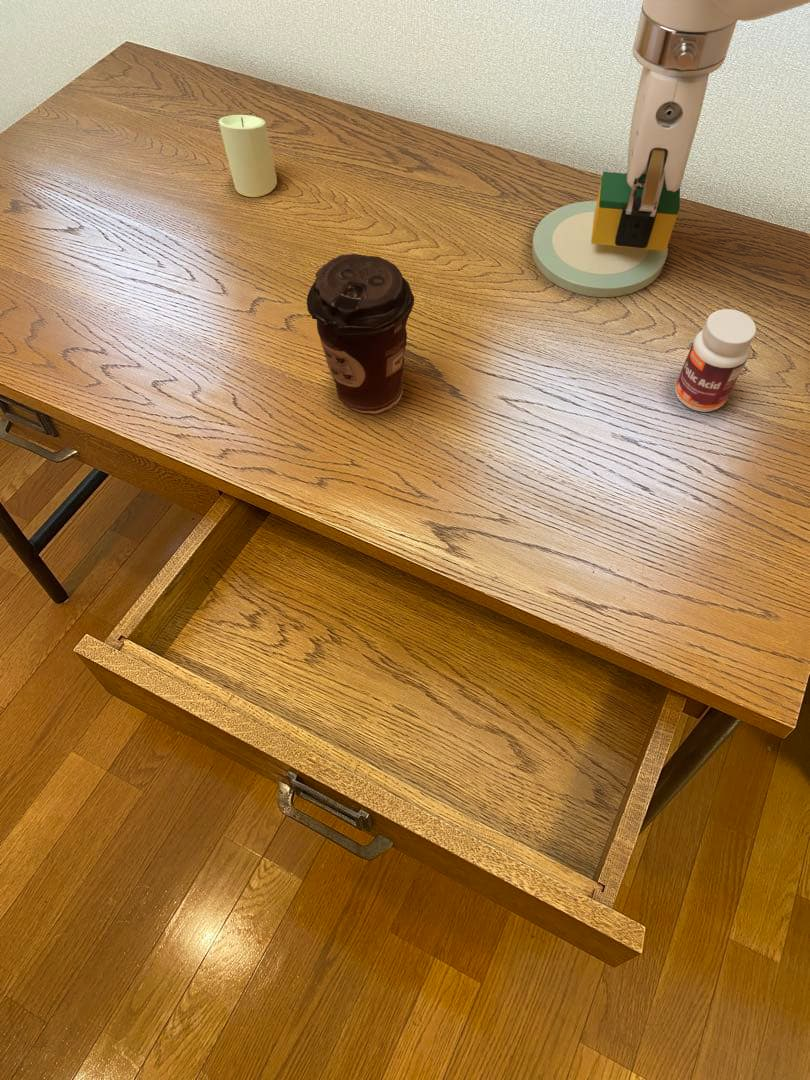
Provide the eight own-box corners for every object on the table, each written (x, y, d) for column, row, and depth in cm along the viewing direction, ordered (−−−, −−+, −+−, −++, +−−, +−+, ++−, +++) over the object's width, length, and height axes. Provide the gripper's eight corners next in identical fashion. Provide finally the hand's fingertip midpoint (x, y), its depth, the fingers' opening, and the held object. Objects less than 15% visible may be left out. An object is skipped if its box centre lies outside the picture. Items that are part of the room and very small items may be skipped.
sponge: (666, 222, 78) (680, 178, 73) (665, 251, 75) (679, 207, 71) (593, 215, 79) (603, 171, 74) (590, 244, 76) (600, 200, 72)
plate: (666, 216, 82) (669, 206, 81) (663, 304, 75) (667, 294, 74) (538, 204, 84) (540, 194, 83) (524, 289, 77) (526, 279, 76)
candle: (247, 168, 89) (231, 98, 82) (284, 176, 88) (271, 106, 81) (227, 192, 87) (208, 123, 80) (265, 201, 86) (250, 131, 79)
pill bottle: (663, 395, 69) (690, 327, 62) (691, 366, 71) (721, 297, 63) (709, 422, 67) (742, 354, 60) (736, 391, 69) (772, 323, 62)
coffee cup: (350, 439, 68) (334, 332, 56) (307, 382, 71) (284, 271, 60) (431, 398, 70) (430, 287, 59) (385, 345, 73) (376, 231, 62)
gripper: (733, 96, 56) (667, 288, 72) (728, -14, 64) (670, 180, 80) (632, 88, 57) (588, 280, 73) (640, -19, 65) (599, 174, 81)
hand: (632, 226), depth 76 cm, fingers closed on sponge, 4 cm apart
